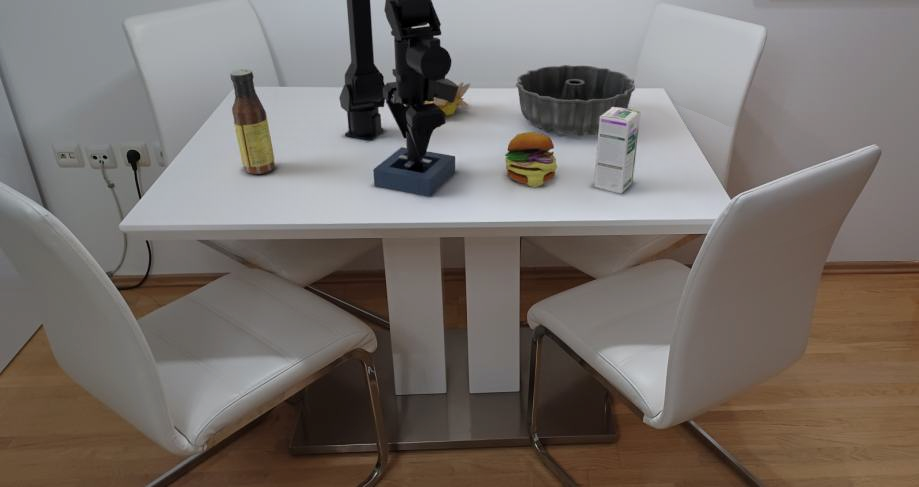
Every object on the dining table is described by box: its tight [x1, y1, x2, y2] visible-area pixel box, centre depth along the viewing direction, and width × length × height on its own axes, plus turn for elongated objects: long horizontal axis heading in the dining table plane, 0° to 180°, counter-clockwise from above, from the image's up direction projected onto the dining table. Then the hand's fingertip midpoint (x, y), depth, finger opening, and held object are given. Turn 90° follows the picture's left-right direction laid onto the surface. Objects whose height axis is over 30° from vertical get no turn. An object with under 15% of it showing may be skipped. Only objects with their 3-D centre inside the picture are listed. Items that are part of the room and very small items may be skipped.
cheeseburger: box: [504, 131, 558, 188], centre depth 139 cm, size 10×11×10 cm
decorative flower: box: [425, 82, 471, 117], centre depth 169 cm, size 15×11×10 cm
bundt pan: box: [515, 64, 636, 137], centre depth 163 cm, size 26×26×10 cm
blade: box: [398, 129, 432, 173], centre depth 137 cm, size 7×7×10 cm
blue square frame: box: [372, 146, 456, 197], centre depth 139 cm, size 12×12×4 cm
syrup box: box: [593, 107, 641, 194], centre depth 133 cm, size 6×6×14 cm
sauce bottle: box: [229, 68, 275, 175], centre depth 139 cm, size 6×6×20 cm
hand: (414, 146), depth 136 cm, fingers open, 9 cm apart
